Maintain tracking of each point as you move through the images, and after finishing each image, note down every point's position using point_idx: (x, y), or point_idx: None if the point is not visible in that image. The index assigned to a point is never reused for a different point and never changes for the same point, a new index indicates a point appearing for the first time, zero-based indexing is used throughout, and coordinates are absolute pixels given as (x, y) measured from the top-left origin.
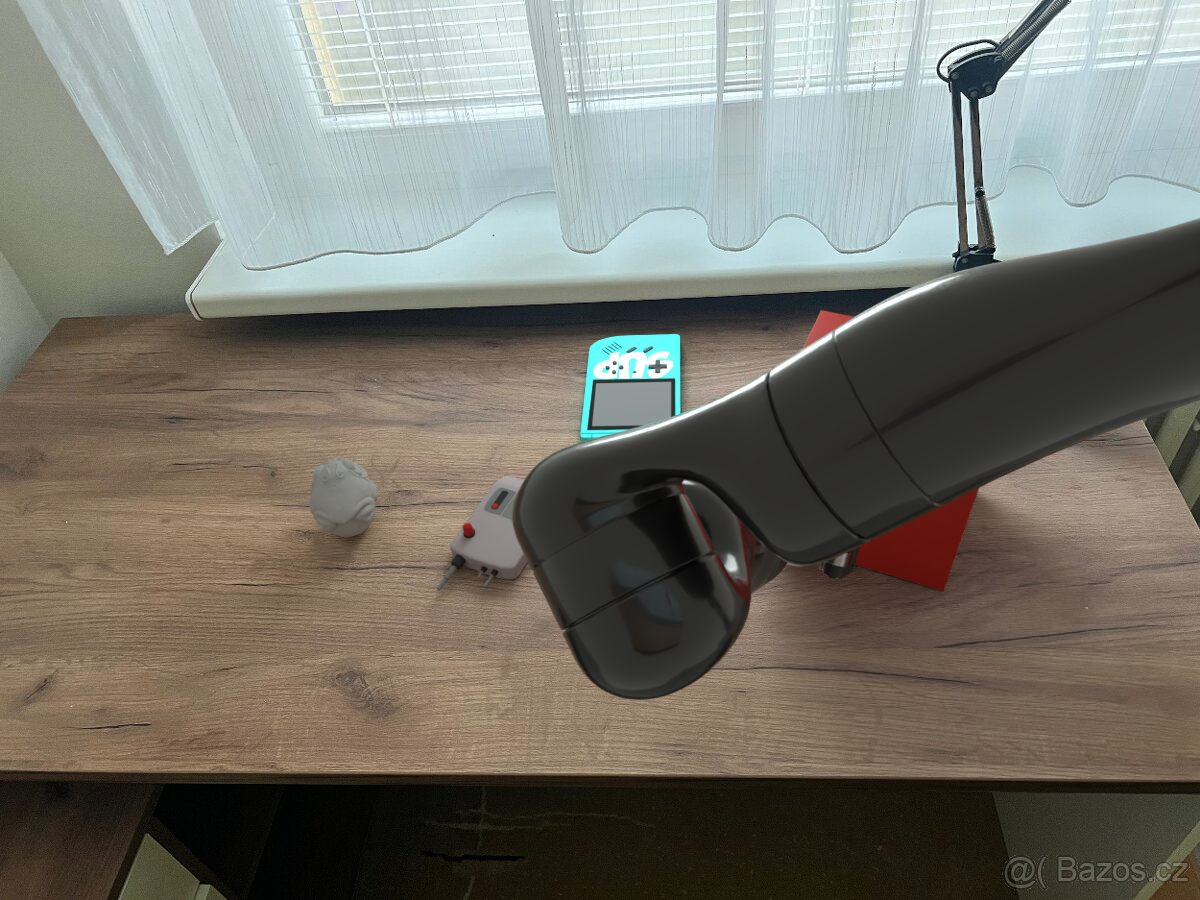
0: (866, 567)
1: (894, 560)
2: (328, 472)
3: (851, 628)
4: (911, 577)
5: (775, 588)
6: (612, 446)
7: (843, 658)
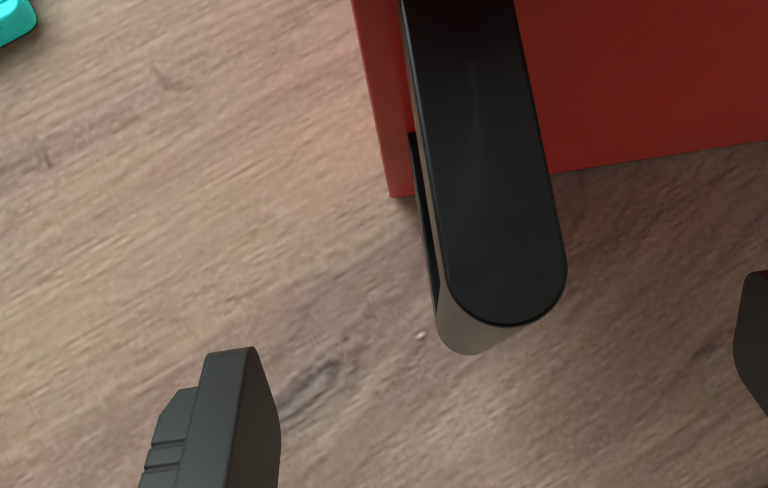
0: (669, 154)
1: (765, 120)
2: None
3: (723, 349)
4: None
5: None
6: None
7: (752, 449)
